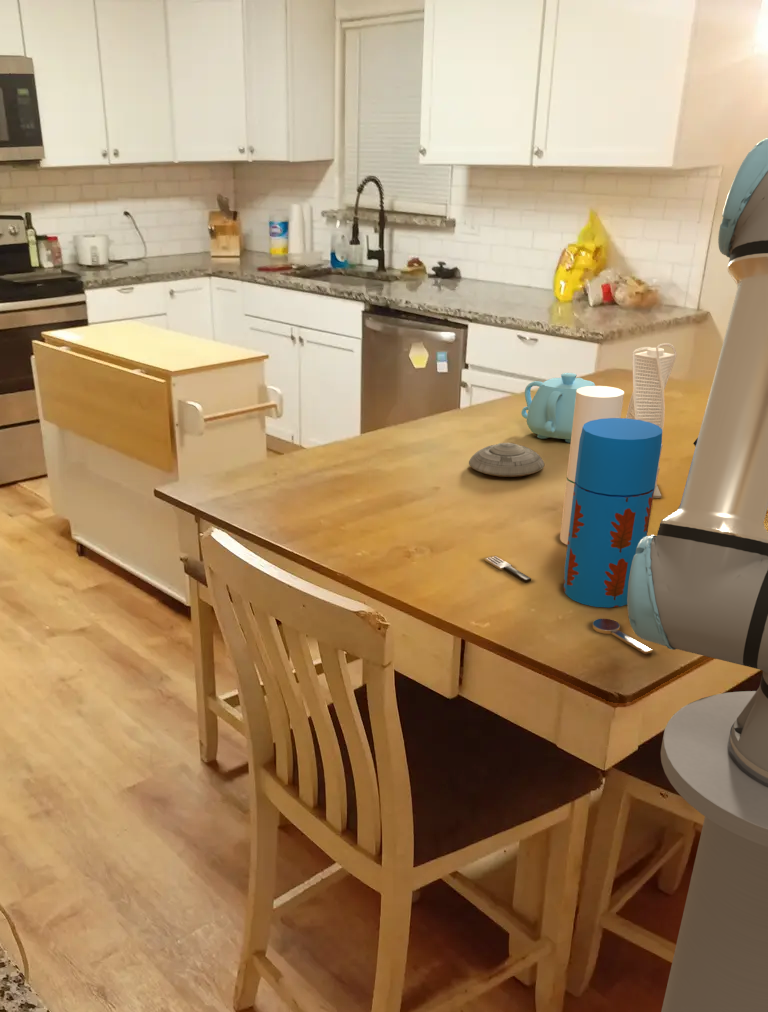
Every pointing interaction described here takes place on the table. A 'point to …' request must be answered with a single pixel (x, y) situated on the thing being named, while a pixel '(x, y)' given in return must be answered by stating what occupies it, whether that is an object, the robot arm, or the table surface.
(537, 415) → the decorative pot
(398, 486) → the table surface
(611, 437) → the thermos
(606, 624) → the metal disc paddle
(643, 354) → the skyscraper
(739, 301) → the robot arm
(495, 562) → the fork
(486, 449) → the flying saucer
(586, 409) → the cylindrical container
